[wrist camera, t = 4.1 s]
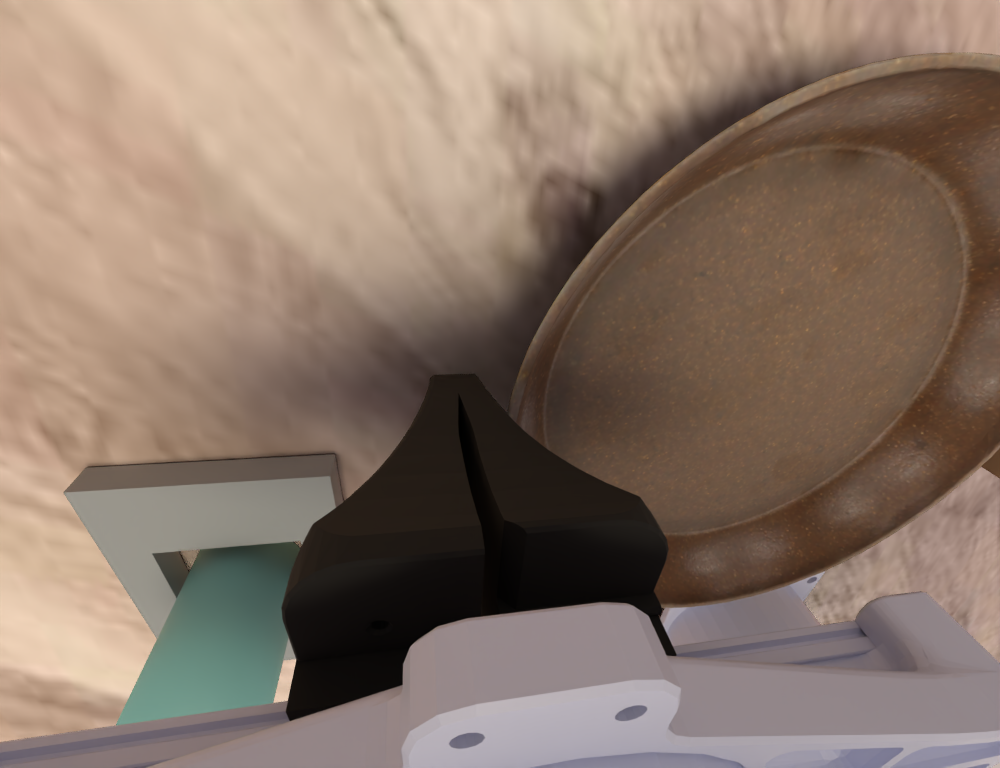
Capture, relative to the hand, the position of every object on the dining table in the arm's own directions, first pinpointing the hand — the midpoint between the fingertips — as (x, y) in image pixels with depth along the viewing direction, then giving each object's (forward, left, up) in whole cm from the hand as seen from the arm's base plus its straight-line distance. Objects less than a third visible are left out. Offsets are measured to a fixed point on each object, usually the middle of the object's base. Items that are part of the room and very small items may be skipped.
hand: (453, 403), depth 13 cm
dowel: (-8, +7, -1) cm, 10 cm away
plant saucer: (0, -10, -1) cm, 10 cm away
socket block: (-8, +7, -1) cm, 10 cm away
